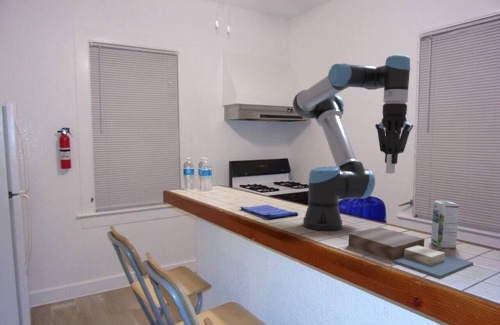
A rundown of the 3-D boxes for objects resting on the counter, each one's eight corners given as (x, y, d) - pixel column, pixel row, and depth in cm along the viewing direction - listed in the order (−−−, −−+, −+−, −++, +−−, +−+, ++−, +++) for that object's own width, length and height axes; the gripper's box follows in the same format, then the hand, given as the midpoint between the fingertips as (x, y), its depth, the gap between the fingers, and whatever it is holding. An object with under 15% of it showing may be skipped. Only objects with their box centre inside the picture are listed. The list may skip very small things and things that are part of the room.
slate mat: (392, 262, 96) (392, 260, 96) (426, 251, 106) (427, 249, 106) (439, 278, 85) (440, 275, 85) (472, 264, 95) (473, 262, 95)
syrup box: (429, 242, 115) (432, 200, 114) (447, 242, 115) (450, 200, 114) (438, 247, 110) (441, 203, 109) (457, 248, 110) (460, 203, 109)
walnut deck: (348, 245, 110) (348, 233, 110) (378, 238, 119) (379, 227, 119) (393, 260, 97) (394, 247, 97) (423, 251, 106) (424, 238, 105)
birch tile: (403, 256, 99) (404, 248, 99) (417, 252, 103) (417, 245, 103) (431, 265, 92) (431, 257, 92) (444, 260, 96) (444, 252, 96)
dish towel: (268, 221, 142) (268, 214, 142) (239, 210, 162) (239, 204, 162) (299, 217, 152) (299, 210, 151) (268, 207, 171) (268, 201, 171)
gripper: (371, 103, 117) (367, 171, 120) (406, 101, 106) (401, 176, 109) (384, 105, 121) (380, 170, 124) (420, 103, 111) (414, 175, 113)
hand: (390, 173), depth 116 cm, fingers closed
